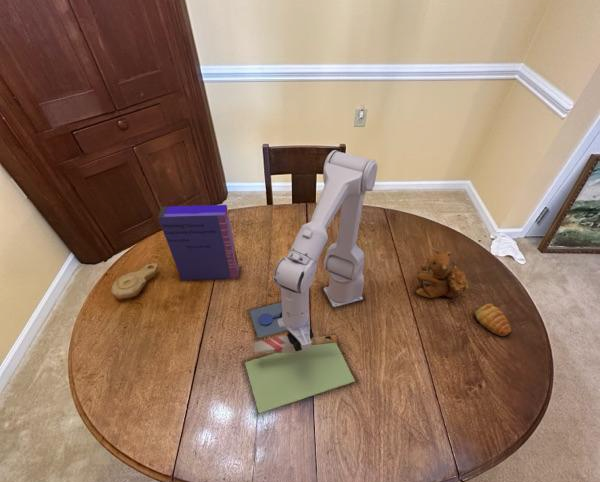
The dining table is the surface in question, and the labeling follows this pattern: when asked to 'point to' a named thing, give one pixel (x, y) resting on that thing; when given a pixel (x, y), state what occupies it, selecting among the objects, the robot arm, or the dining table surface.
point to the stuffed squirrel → (441, 278)
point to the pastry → (493, 319)
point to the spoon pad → (272, 327)
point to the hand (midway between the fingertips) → (296, 341)
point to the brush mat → (296, 375)
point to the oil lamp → (133, 282)
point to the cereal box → (200, 241)
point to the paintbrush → (287, 344)
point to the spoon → (267, 319)
